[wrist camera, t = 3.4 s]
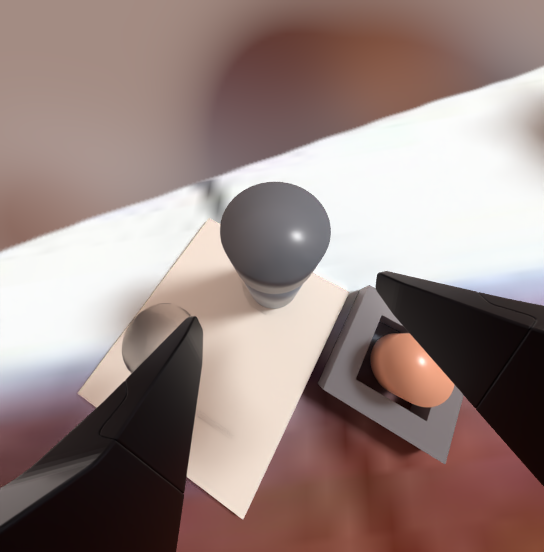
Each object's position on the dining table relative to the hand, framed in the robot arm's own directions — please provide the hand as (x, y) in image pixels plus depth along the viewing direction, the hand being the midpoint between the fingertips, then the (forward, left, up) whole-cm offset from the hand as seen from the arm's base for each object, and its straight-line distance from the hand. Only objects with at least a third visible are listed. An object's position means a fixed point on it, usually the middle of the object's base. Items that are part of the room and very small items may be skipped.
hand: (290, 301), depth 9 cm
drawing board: (-5, +4, -10) cm, 12 cm away
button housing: (+1, -11, -10) cm, 15 cm away
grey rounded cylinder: (+2, +2, -10) cm, 10 cm away
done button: (+1, -11, -9) cm, 14 cm away
